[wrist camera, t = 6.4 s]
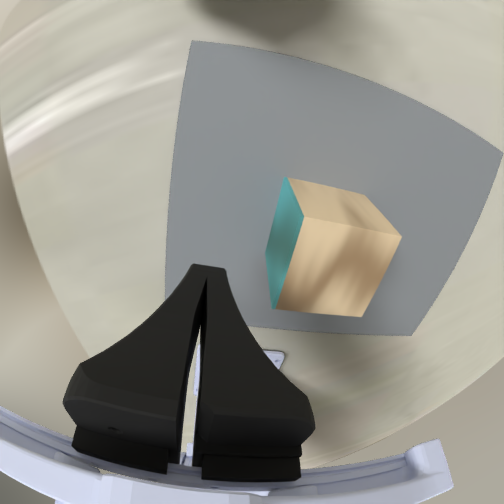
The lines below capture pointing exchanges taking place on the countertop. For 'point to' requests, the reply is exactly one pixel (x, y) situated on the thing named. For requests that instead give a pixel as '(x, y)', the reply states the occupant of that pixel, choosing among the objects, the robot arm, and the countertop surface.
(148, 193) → the countertop surface
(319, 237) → the oak block
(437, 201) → the rubber mat
